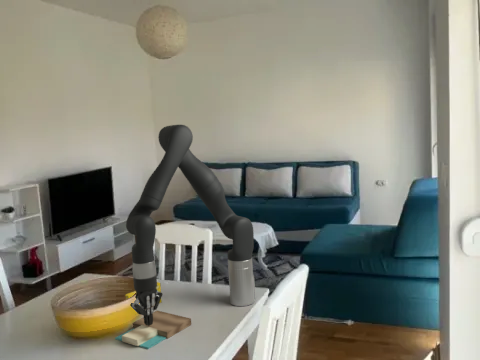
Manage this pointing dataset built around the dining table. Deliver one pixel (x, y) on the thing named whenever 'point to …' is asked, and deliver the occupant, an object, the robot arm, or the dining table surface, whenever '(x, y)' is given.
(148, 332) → the tile
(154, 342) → the mat
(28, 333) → the dining table surface
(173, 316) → the wooden board
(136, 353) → the dining table surface
